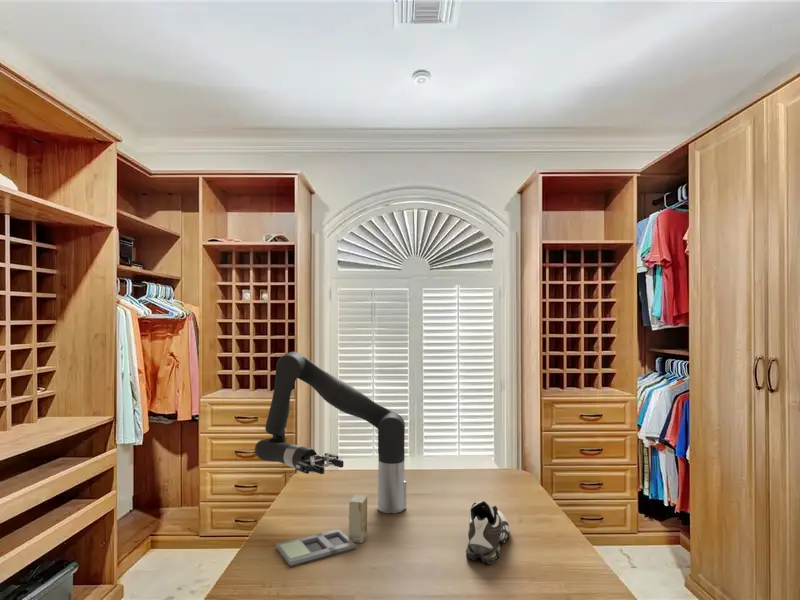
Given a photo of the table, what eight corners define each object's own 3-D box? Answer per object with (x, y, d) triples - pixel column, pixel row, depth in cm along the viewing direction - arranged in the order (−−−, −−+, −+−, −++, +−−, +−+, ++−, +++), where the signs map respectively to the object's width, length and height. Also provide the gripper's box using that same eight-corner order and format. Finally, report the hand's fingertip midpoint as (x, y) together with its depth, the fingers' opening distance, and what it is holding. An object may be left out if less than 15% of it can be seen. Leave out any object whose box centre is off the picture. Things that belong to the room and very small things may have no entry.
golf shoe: (511, 525, 166) (511, 482, 166) (506, 571, 137) (507, 519, 137) (475, 520, 169) (476, 478, 169) (464, 565, 140) (464, 514, 140)
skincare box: (362, 543, 152) (362, 503, 152) (348, 542, 153) (348, 501, 153) (367, 534, 158) (367, 495, 158) (354, 532, 159) (354, 494, 159)
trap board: (338, 533, 158) (338, 527, 158) (355, 549, 148) (355, 543, 148) (276, 549, 148) (276, 543, 148) (290, 567, 138) (290, 561, 138)
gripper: (283, 451, 166) (317, 461, 156) (315, 442, 177) (349, 451, 167) (283, 473, 166) (316, 485, 156) (315, 463, 177) (348, 473, 167)
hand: (333, 467), depth 162 cm, fingers open, 8 cm apart
